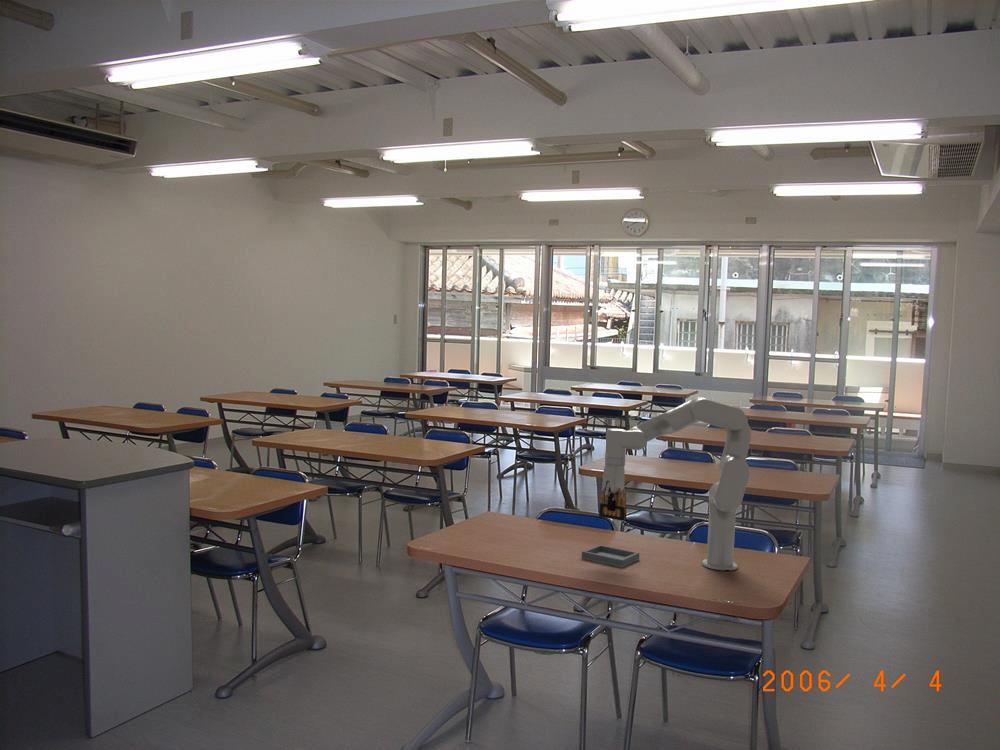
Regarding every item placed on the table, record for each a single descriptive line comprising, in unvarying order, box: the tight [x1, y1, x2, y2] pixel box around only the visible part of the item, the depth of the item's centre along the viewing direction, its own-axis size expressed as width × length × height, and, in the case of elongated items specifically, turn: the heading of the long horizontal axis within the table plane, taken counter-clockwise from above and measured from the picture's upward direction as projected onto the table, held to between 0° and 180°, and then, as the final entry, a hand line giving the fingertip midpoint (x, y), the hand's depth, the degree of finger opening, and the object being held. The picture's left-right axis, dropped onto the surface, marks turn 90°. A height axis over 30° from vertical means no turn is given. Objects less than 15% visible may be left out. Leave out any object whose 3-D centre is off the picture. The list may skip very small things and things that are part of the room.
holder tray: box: [581, 544, 640, 568], centre depth 296 cm, size 14×17×3 cm
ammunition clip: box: [598, 487, 627, 522], centre depth 295 cm, size 11×2×12 cm, turn 54°
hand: (613, 509), depth 295 cm, fingers closed on ammunition clip, 2 cm apart
